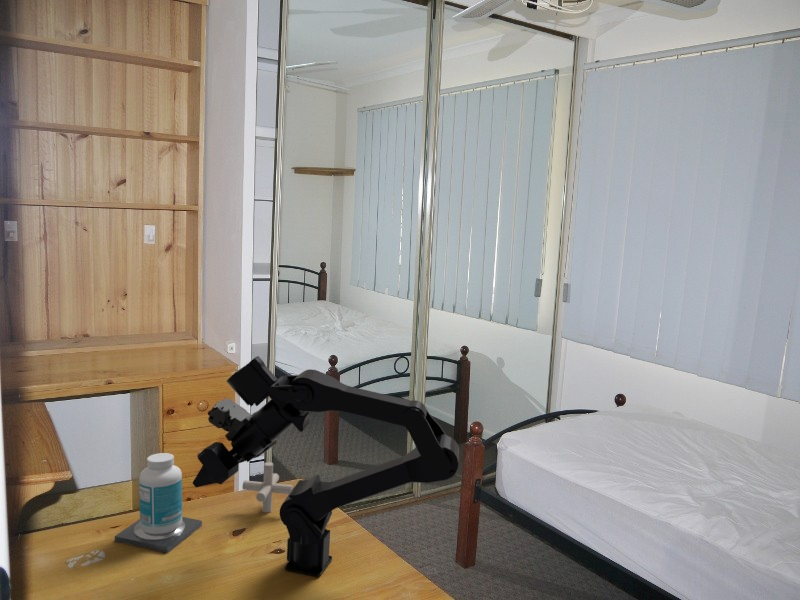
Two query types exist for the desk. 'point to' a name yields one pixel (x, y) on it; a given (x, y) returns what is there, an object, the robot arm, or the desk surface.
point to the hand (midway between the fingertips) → (208, 475)
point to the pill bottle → (160, 495)
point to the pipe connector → (267, 487)
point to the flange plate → (158, 536)
